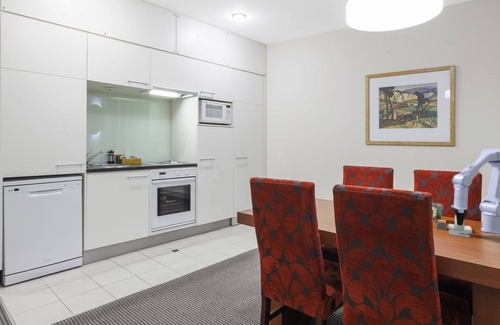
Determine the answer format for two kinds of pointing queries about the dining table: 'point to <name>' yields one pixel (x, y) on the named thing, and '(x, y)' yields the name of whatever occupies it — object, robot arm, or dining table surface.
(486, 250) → the dining table surface
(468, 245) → the dining table surface
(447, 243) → the dining table surface
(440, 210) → the food container
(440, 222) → the release plunger
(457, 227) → the cylinder
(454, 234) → the mat
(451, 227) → the filter housing
